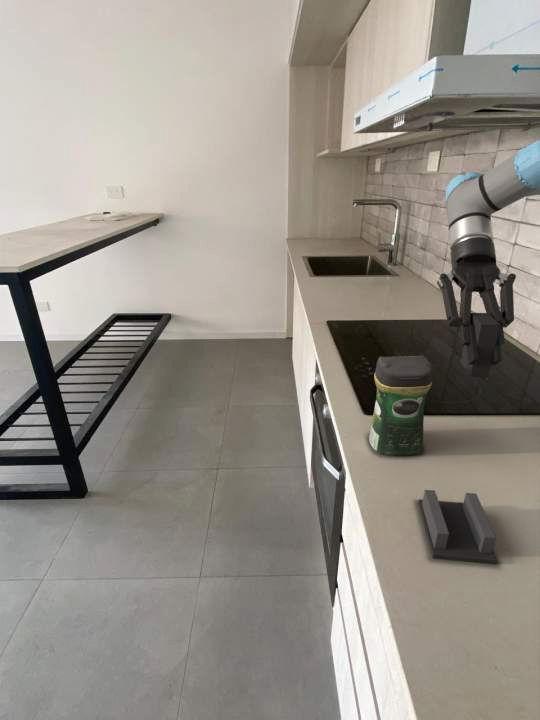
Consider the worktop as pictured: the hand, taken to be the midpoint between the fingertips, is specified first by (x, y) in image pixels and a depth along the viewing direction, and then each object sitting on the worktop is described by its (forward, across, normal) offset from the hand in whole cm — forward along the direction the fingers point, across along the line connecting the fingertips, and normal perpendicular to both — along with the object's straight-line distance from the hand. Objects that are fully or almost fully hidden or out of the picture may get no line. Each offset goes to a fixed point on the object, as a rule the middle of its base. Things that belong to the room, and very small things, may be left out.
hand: (484, 362), depth 68 cm
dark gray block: (0, 0, -5) cm, 5 cm away
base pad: (+28, +8, +3) cm, 29 cm away
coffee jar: (+14, +14, -12) cm, 22 cm away
